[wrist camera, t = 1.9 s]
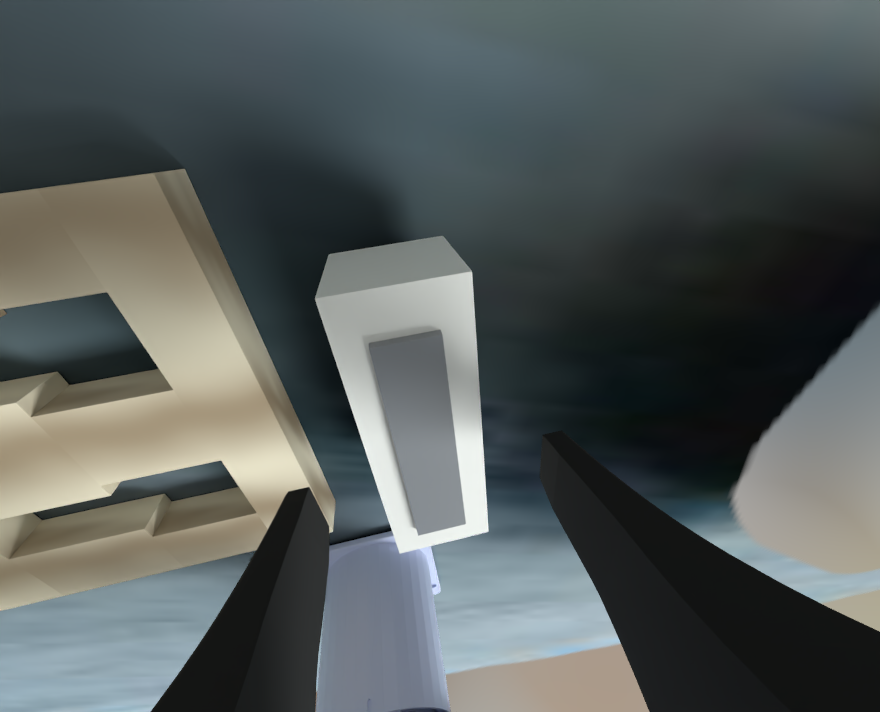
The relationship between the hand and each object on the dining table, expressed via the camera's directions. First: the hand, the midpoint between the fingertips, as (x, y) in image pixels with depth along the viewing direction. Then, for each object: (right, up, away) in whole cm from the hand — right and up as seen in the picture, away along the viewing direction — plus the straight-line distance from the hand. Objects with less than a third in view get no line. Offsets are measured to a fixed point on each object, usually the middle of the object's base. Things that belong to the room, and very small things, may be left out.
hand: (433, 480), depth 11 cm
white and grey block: (-1, +4, +6) cm, 7 cm away
